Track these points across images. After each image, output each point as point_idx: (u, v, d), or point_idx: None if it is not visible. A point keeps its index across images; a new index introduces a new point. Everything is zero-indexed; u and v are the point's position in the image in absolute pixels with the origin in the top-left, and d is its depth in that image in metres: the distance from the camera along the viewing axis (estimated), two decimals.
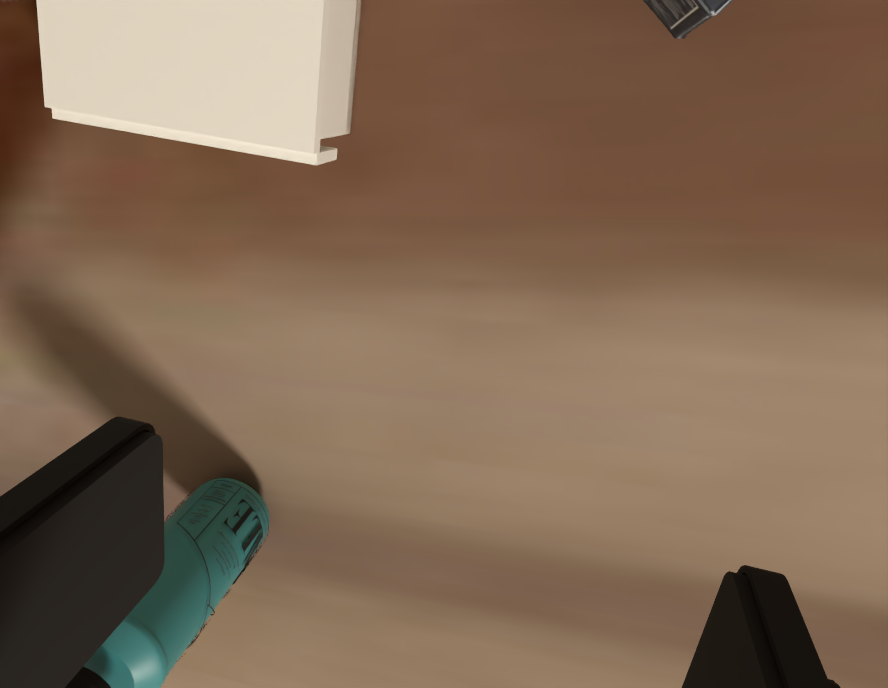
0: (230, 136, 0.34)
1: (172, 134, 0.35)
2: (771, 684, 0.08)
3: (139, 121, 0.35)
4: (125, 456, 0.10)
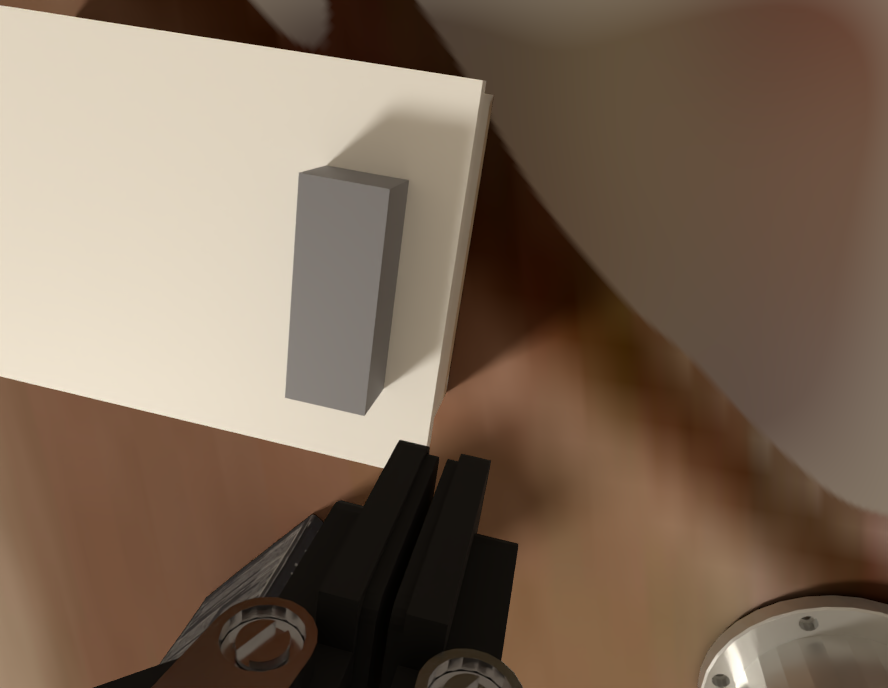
0: None
1: None
2: (425, 529, 0.09)
3: None
4: (426, 479, 0.11)
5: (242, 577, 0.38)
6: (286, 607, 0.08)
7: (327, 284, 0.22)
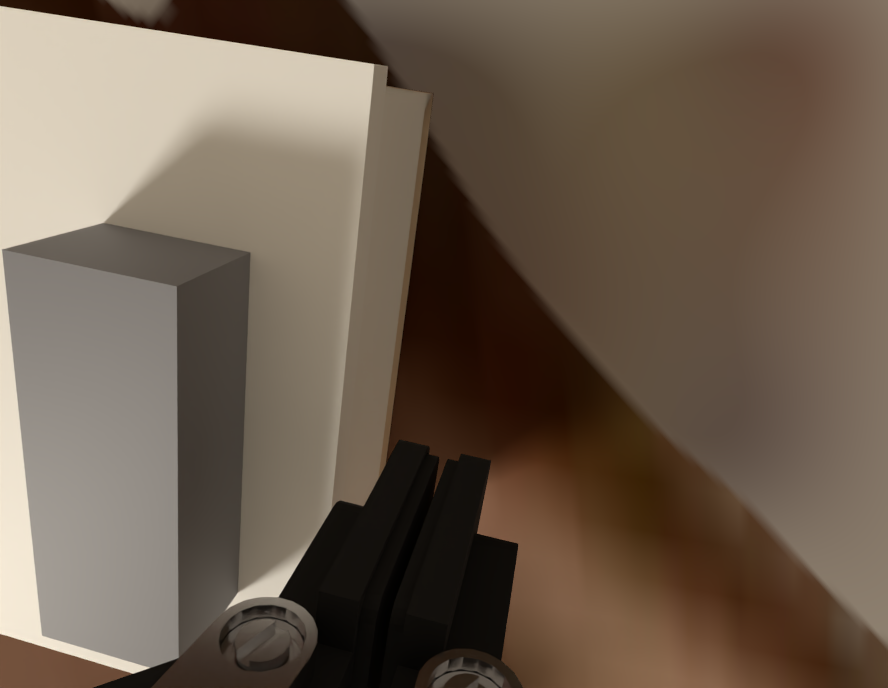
0: None
1: None
2: (425, 529, 0.09)
3: None
4: (426, 479, 0.11)
5: None
6: (286, 607, 0.08)
7: (85, 455, 0.12)
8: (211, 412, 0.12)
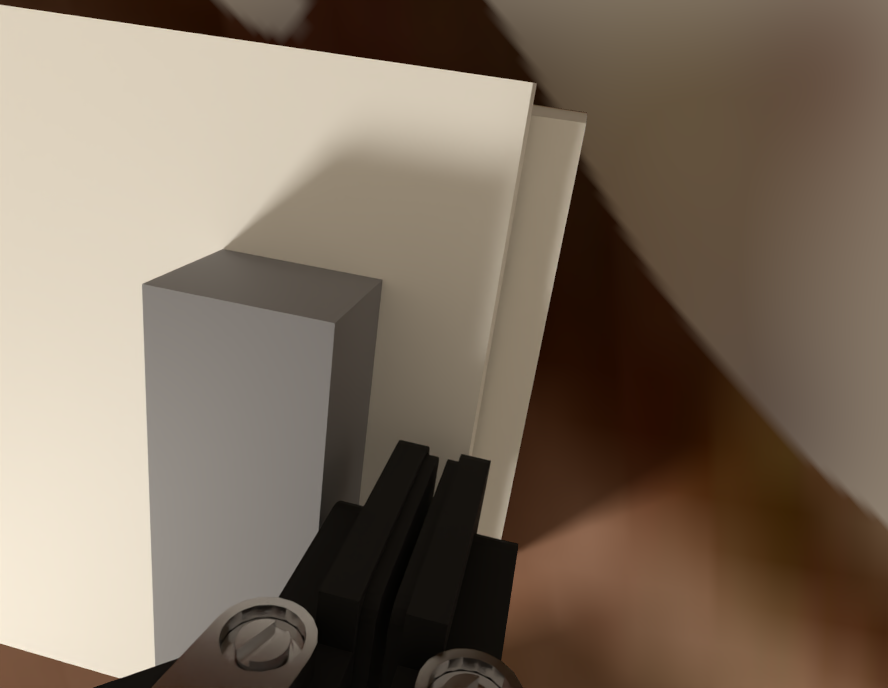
0: None
1: None
2: (425, 528, 0.09)
3: None
4: (426, 479, 0.11)
5: None
6: (286, 607, 0.08)
7: (217, 498, 0.11)
8: (345, 449, 0.12)
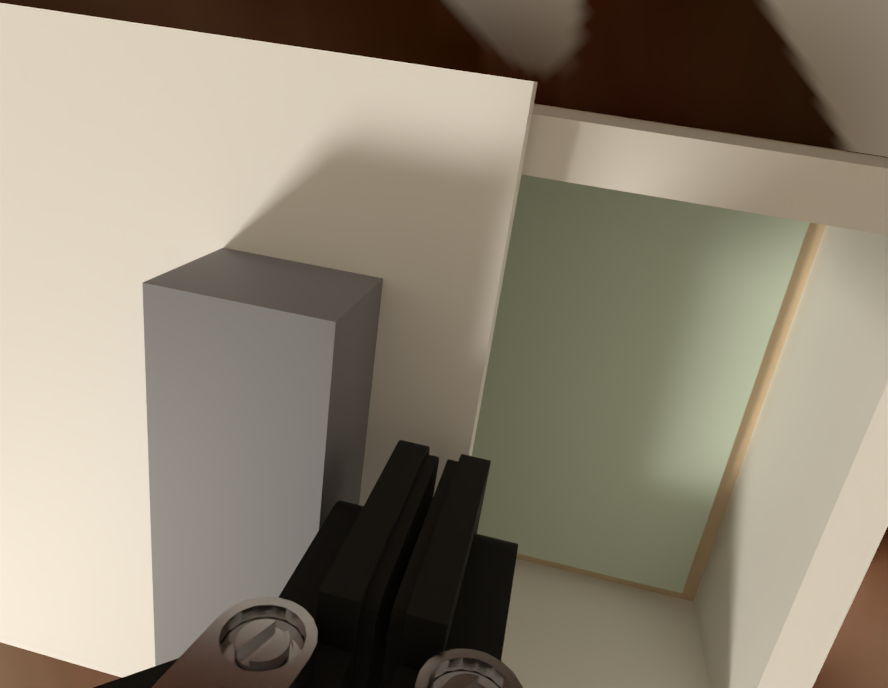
0: None
1: None
2: (426, 529, 0.09)
3: None
4: (426, 479, 0.11)
5: None
6: (286, 607, 0.08)
7: (217, 496, 0.11)
8: (345, 448, 0.12)
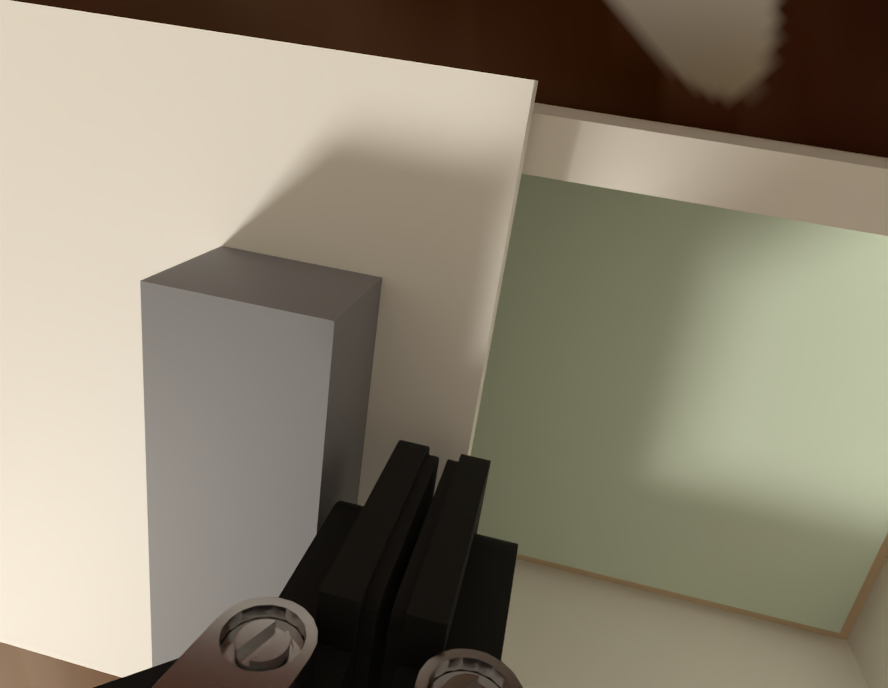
0: None
1: None
2: (425, 528, 0.09)
3: None
4: (426, 479, 0.11)
5: None
6: (286, 607, 0.08)
7: (215, 496, 0.11)
8: (344, 447, 0.12)
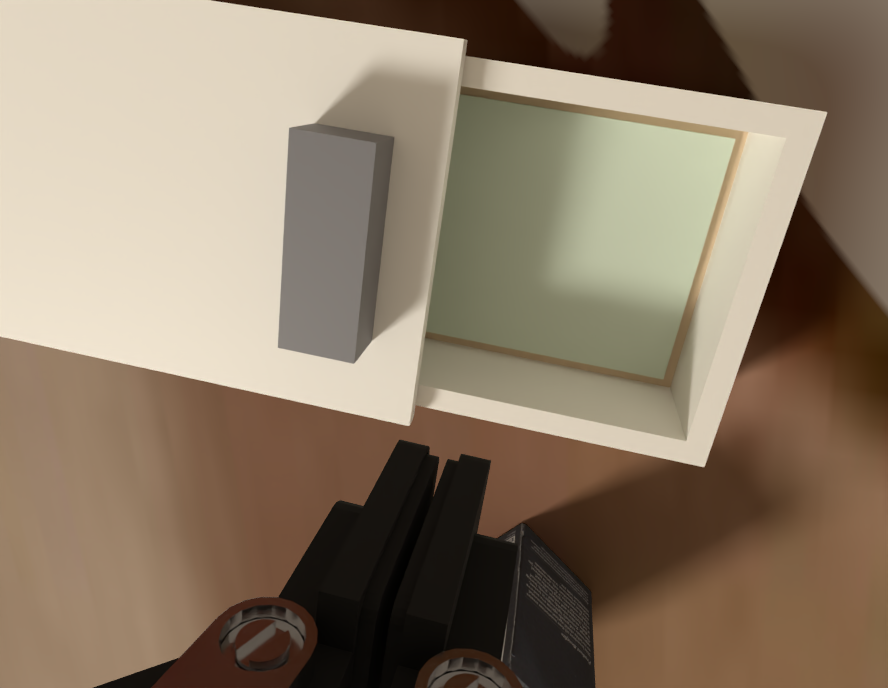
0: None
1: None
2: (425, 528, 0.09)
3: None
4: (426, 479, 0.11)
5: None
6: (286, 607, 0.08)
7: (317, 236, 0.23)
8: (376, 217, 0.24)
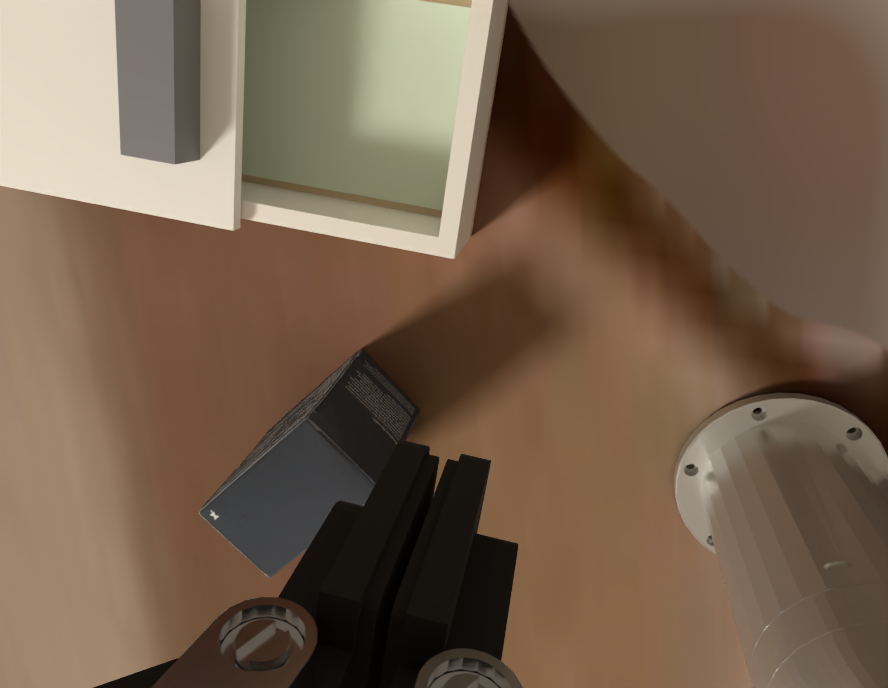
0: None
1: None
2: (425, 529, 0.09)
3: None
4: (426, 479, 0.11)
5: (303, 401, 0.46)
6: (286, 607, 0.08)
7: (140, 62, 0.32)
8: (186, 51, 0.33)
